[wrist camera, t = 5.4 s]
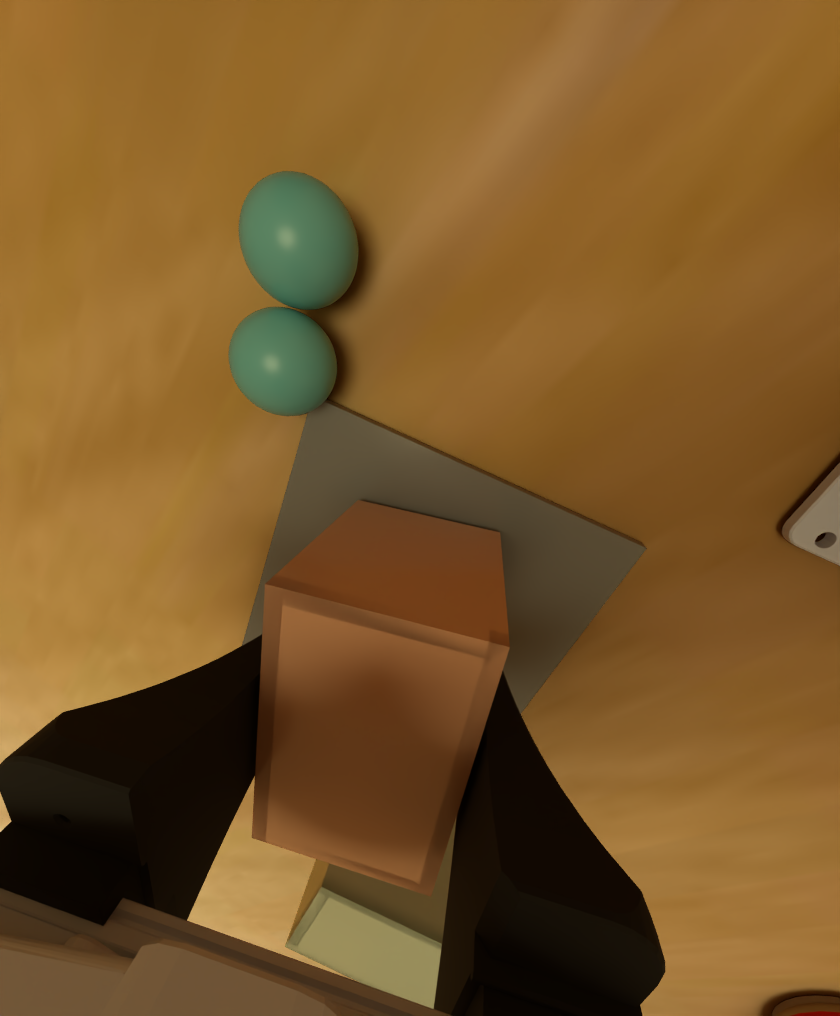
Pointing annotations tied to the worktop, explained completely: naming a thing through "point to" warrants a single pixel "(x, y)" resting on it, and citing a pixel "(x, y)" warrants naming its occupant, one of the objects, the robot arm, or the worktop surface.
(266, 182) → the marble
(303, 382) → the marble
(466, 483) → the slate coaster
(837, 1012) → the beer can
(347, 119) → the worktop surface
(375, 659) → the tall copper box
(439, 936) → the pale green square box
